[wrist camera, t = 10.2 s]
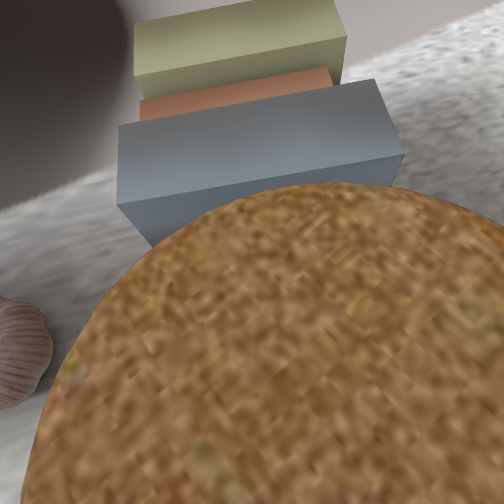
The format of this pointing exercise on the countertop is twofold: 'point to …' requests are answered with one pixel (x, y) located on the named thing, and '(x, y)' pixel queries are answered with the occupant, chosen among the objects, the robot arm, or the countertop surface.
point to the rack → (245, 112)
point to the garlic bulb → (21, 351)
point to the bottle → (290, 361)
